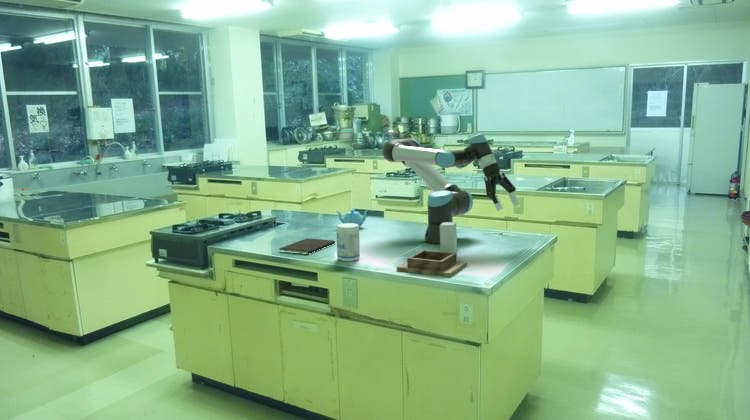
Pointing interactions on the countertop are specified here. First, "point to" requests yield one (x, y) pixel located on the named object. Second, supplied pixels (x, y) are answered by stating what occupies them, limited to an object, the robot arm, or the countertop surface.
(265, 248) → the countertop surface
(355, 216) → the teapot
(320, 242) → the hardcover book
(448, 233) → the skincare box
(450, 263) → the bottle stand
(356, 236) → the supplement tub
